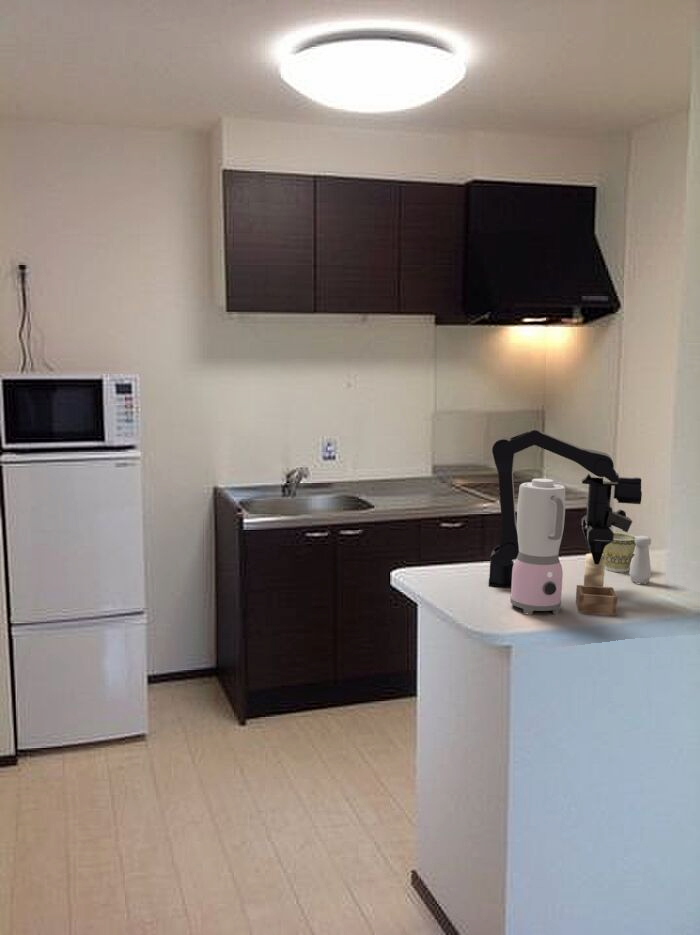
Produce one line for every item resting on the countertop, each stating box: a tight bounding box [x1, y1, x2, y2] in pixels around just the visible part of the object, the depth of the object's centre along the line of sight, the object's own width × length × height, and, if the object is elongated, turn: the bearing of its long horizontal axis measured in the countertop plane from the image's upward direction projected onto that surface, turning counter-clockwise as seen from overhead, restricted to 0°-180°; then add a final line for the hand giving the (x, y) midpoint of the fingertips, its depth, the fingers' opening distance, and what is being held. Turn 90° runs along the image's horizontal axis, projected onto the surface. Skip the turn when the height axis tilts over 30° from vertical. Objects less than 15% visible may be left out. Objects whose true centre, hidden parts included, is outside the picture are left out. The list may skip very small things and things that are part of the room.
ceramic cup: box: [602, 531, 637, 573], centre depth 257 cm, size 13×10×10 cm
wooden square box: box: [575, 584, 618, 617], centre depth 218 cm, size 9×9×5 cm
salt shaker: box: [628, 534, 652, 585], centre depth 244 cm, size 6×6×13 cm
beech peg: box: [583, 552, 606, 587], centre depth 232 cm, size 5×5×10 cm
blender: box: [510, 478, 566, 615], centre depth 214 cm, size 16×12×32 cm
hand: (594, 559), depth 232 cm, fingers open, 9 cm apart
